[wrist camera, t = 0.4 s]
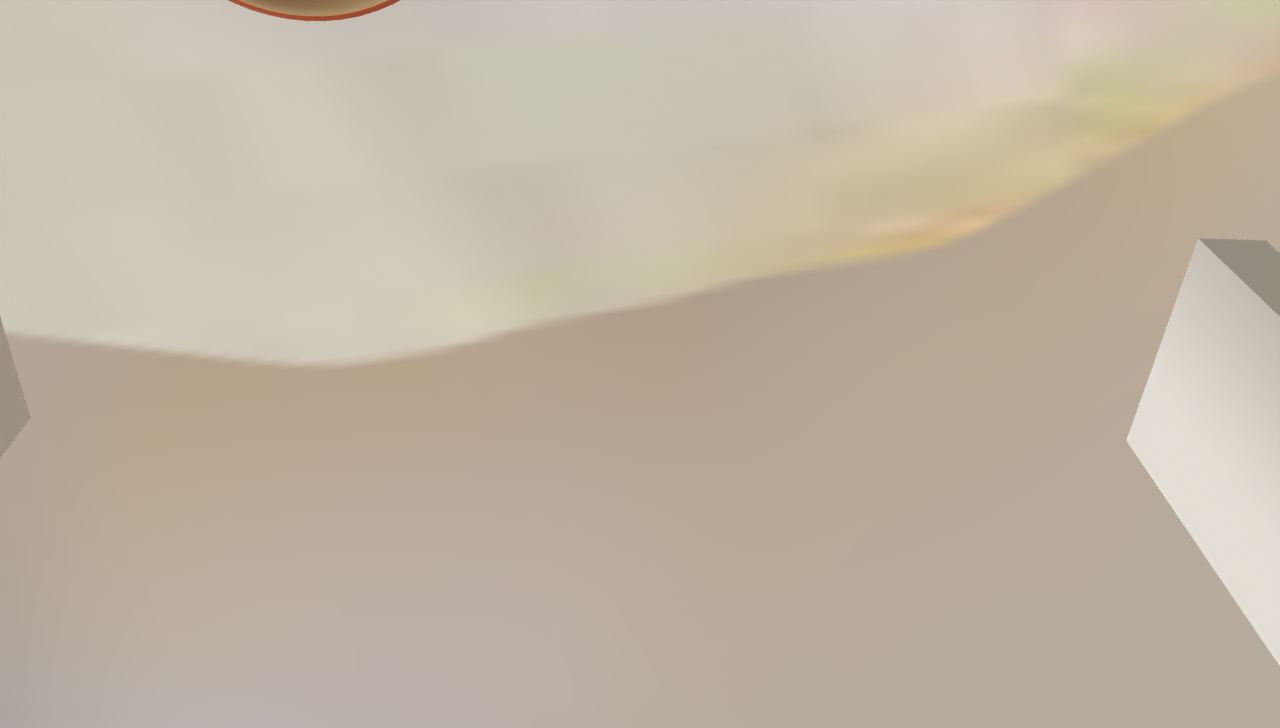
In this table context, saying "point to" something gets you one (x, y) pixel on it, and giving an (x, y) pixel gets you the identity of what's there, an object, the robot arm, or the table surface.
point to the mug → (315, 8)
